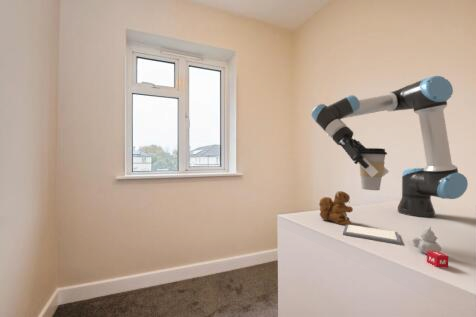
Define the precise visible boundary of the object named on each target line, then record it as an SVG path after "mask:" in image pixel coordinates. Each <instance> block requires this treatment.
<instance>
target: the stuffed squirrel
mask: <svg viewBox="0 0 476 317" xmlns="http://www.w3.org/2000/svg"><path fill="white" fill-rule="evenodd" d="M350 200H351V199H350V195H349V193H346V192H345V191H342V190H341V191H336V193H335V195H334V199H332V197H327V196H326V197H325V196H324V197H321V199H320V200H319V204H318V205H319V211H320V213H319V216H320V218H321V219H322V220H323V221H326V222H332V223H334V224H337V225H341V226H346V224H347V225H351V222H350V217H348V215H347V213H352V212H353V207H352V206H350V205H349V206H348V205H346V204H347V203H350Z"/></svg>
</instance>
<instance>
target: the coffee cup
mask: <svg viewBox="0 0 476 317" xmlns="http://www.w3.org/2000/svg"><path fill="white" fill-rule="evenodd" d="M359 152H360V154H361V155H362V157H363V159H364V158H365V159H366V160H367V161H368V162H369V163H370V164H371V165H372V166H373V167H374V168H375V169H376V170H377V171H378V173H377V174H376V175H374V176H373V177H371V176H370V175H369V174H368V173H367V172H366V171H365V170H364V169H363V168H362V166H361V165H360V164H359V175H360V181H361V182H360V184H361V190H366V191H367V190H368V191H380V190H381V183H382V178H383V176H382V175H383V169H384V167H385V159H386V156H387V155H388V153H387V152H386V149H385V148H378V147H377V148H376V147H375V148H373V147H365V148H361V149H360V151H359Z"/></svg>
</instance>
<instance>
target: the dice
mask: <svg viewBox="0 0 476 317" xmlns="http://www.w3.org/2000/svg"><path fill="white" fill-rule="evenodd" d="M427 262H428V263H427ZM426 263H427V264H429V263H430V264H429V265H431V264H432V265H431V266H433V265H434V266H433V267H435V268H437V267H448V268H449V255H447V254H444V253H443V252H441V251H440V252H438V251H427V254H426Z"/></svg>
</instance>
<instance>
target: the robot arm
mask: <svg viewBox="0 0 476 317" xmlns="http://www.w3.org/2000/svg"><path fill="white" fill-rule="evenodd" d="M453 89H454V88H453V85H452V83H451V82H450V81H449V79H447V78H445V77H444V76H441V75H433V76H429V77H426V78H423V79H421V80H419V81H416V82H414V83H411V84H408V85H405V86H404V87H401V88H399V89H397V90H393V91H389V92H385V94H384V95H379V96H373V97H369V98H362V99H359V98H358V97H357V96H355V95H354V94H351V95H348V96H345V97H343V98H342V99H340V100H338V101H335V102H334V103H332V104H329V105H328V106H327V105H326V104H324V103H320V104H318V105H316V106H314V108H313V109H312V111H311V113H310V114H311V117H312V119H313V120H314V122H315V123H316V124H317V125H318V126H319V127H320V128H321V129H323V131H324V132H325V133H326V134H327V137H330V138H331V139H332V140H333V141H334V143H335V144H336V145H338V146H341V147H342V149H343V150H344V151H345V153H346V154H347V155H348V157H349V158H350V159H351V160H352V161H353V163H354V164H355V165H357V164H359V166H360V165H361V166H362V168H363V169H364V170H365V171H366V172H367V173H368V174H369V175H370V176H371V177H373V176H374V175H376V174H377V173H378V171H377V170H376V169H375V168H374V167H373V166H372V165H371V164H370V163H369V162H368V161H367V160H366V159H365V158H364V159H363V157H362V155H361V154H360V152H359V151H360V149H361V148H366V147H365V145H363V144H362V143H361V141H359V140H357V139H355V138H354V139H353V136H354V132H353V130H352V129H351V128H350V127H349V126H348V125H347V124H346V123H345V122H343V120H342V119H347V118H348V119H349V118H353V117H358V116H363V115H364V116H365V115H369V114H373V113H378V112H385V111H386V112H388V113H389V112H395V111H404V110H406V111H407V110H413V112H414V113H415V114H416V115H418V118H419V119H418V120H419V125H420V130H421V131H420V132H421V138H422V143H423V149H424V150H423V151H424V158H425V162H426V166H425V167H415V168H414V167H413V168H412V167H411V168H406V169H404V170H403V171H402V176H401V182H402V183H401V186H402V187H401V199H400V201H399V203H398V205H397V212H398V211H399V212H398V213H400V212H402V213H401V214H403V213H405V214H404V215H407V214H410V215H409V216H412V215H415V216H414V217H420V216H424V217H423V218H434V217H435V216H436V211H435V208H434V206H433V203H432V197H436V198H440V199H443V200H444V199H447V200H455V199H459V198H461V197H462V196H463V195H464V193H466V191H467V190H468V184H469V183H468V178H467V177H466V176H465V175H464V174H462V173H461V172H459V169H458V166H456V165H455V164H453V161H452V157H451V156H452V155H451V151H450V149H451V148H450V143H449V138H448V132H447V124H446V119H445V112H444V110H445V109H446V107H448V100H450V98H452V96H453V92H454V90H453ZM389 172H390V170H388V168H386V167H385V166H384V169H383V175H382V177H384V176H385V175H387V174H389Z"/></svg>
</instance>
